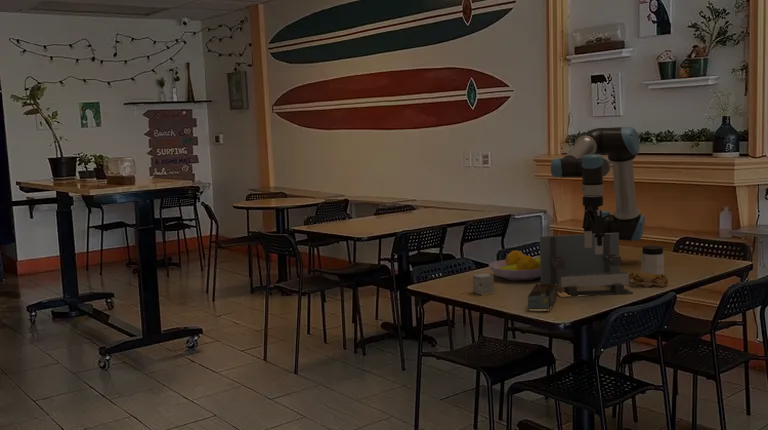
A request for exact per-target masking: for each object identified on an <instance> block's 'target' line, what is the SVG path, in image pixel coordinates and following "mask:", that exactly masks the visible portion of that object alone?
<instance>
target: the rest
mask: <svg viewBox="0 0 768 430" xmlns="http://www.w3.org/2000/svg"><path fill="white" fill-rule="evenodd" d="M563 288H564V289H563V292H565V293H567V294H568V295H571V296H578V295H600V296H612V295H613V296H614V295H615V296H616V295H617V294H620V295H633V294H634V292H633V291H631V290H630V289H629V288H625V284H617V285H609V288H610V289H590V290H578V286H577V287H563ZM557 292H558V293H559V292H560V293H561V292H562V291H557Z"/></svg>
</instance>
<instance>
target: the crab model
mask: <svg viewBox="0 0 768 430" xmlns="http://www.w3.org/2000/svg"><path fill="white" fill-rule="evenodd" d="M630 280H631V281H630ZM632 282H634V283H635V284H637V285H643V287H644V288H645V289H650V287H652V285H653V286H662V285H664V288H665V287H667V286H668V284H669V280H668V278H667V277H666V275H665V274H664V275H662V274H660V275H659V274H656V275H655V274H653V273H642V272H630V273H629V284H630V285H633V283H632ZM657 282H659V283H657Z"/></svg>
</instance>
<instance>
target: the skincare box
mask: <svg viewBox="0 0 768 430" xmlns="http://www.w3.org/2000/svg"><path fill="white" fill-rule="evenodd" d="M494 276H495V275H492V274H489V273H485V272H483V273H478V274H473V275H472V292H475V293H474V294H476V293H479V294H486V293H491V292H494V291H495V290H494V289H495V288H494V287H495V286H494V285H495V283H494V279H495V278H494ZM494 293H495V292H494ZM479 294H478V295H479Z"/></svg>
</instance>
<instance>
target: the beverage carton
mask: <svg viewBox="0 0 768 430" xmlns="http://www.w3.org/2000/svg"><path fill="white" fill-rule="evenodd" d="M556 286H557V285H555V284H541V283H536V284H535V286H534V287H533V288H532V290H531V292H529V294H528V296H527V306H528V307H527V308H528V310H529V309H547V310H548V309H550V307H551V306H552V305H553V303H554V302H556V301H557V294H556V292H557V287H556ZM555 300H556V301H555ZM554 304H555V303H554ZM553 306H554V305H553ZM553 306H552V307H553Z"/></svg>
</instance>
